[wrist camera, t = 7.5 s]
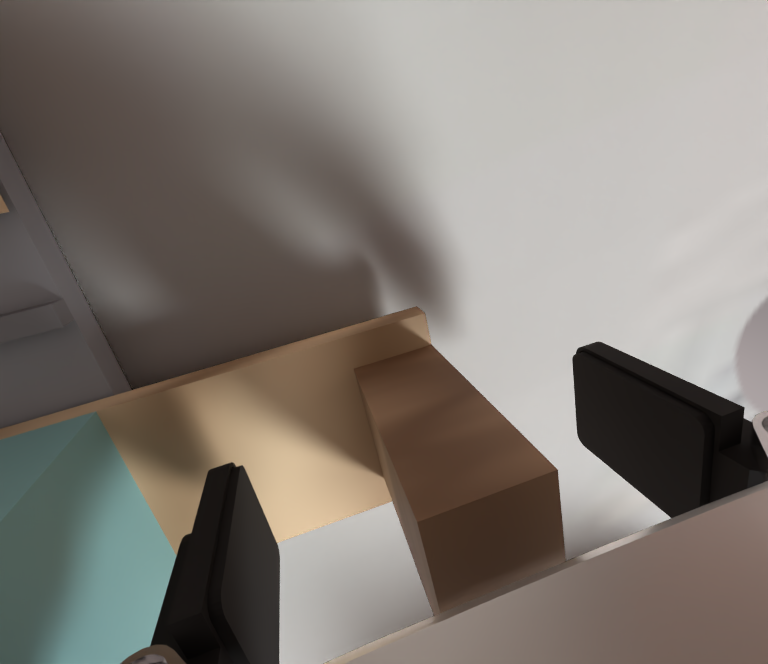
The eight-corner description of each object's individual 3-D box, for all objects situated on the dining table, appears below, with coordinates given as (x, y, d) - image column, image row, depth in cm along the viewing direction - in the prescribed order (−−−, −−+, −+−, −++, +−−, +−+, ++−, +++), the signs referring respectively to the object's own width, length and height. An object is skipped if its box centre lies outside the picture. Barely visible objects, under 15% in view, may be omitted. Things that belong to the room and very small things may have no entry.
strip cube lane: (416, 306, 12) (553, 417, 6) (449, 463, 15) (574, 664, 8) (-140, 469, 10) (-788, 890, 4) (-8, 625, 12) (-300, 1059, 6)
